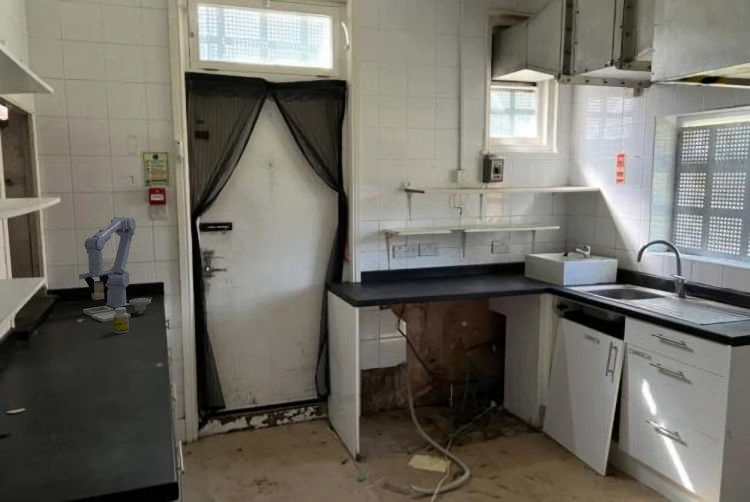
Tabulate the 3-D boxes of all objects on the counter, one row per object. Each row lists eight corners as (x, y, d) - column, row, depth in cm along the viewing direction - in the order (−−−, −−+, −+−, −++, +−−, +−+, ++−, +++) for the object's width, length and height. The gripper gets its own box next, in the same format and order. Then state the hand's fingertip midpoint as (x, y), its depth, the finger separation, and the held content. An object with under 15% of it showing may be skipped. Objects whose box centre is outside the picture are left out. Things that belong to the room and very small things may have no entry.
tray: (92, 318, 253) (91, 314, 253) (118, 313, 262) (118, 310, 262) (103, 322, 245) (103, 319, 245) (130, 317, 254) (130, 314, 254)
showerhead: (153, 299, 259) (129, 301, 254) (153, 314, 260) (130, 316, 255) (151, 295, 267) (128, 297, 263) (152, 310, 268) (129, 312, 264)
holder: (83, 313, 262) (83, 309, 262) (105, 309, 269) (105, 305, 269) (92, 316, 255) (91, 312, 255) (114, 312, 263) (114, 309, 262)
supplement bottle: (111, 332, 229) (110, 309, 228) (122, 329, 234) (120, 306, 233) (121, 334, 227) (120, 310, 226) (132, 330, 232) (130, 307, 231)
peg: (91, 298, 261) (90, 281, 260) (100, 297, 264) (99, 280, 263) (95, 300, 259) (94, 282, 258) (104, 298, 262) (103, 281, 261)
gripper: (82, 266, 251) (84, 296, 253) (115, 262, 262) (117, 291, 264) (76, 264, 256) (78, 293, 258) (108, 261, 267) (110, 289, 268)
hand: (97, 292), depth 261 cm, fingers closed on peg, 4 cm apart
